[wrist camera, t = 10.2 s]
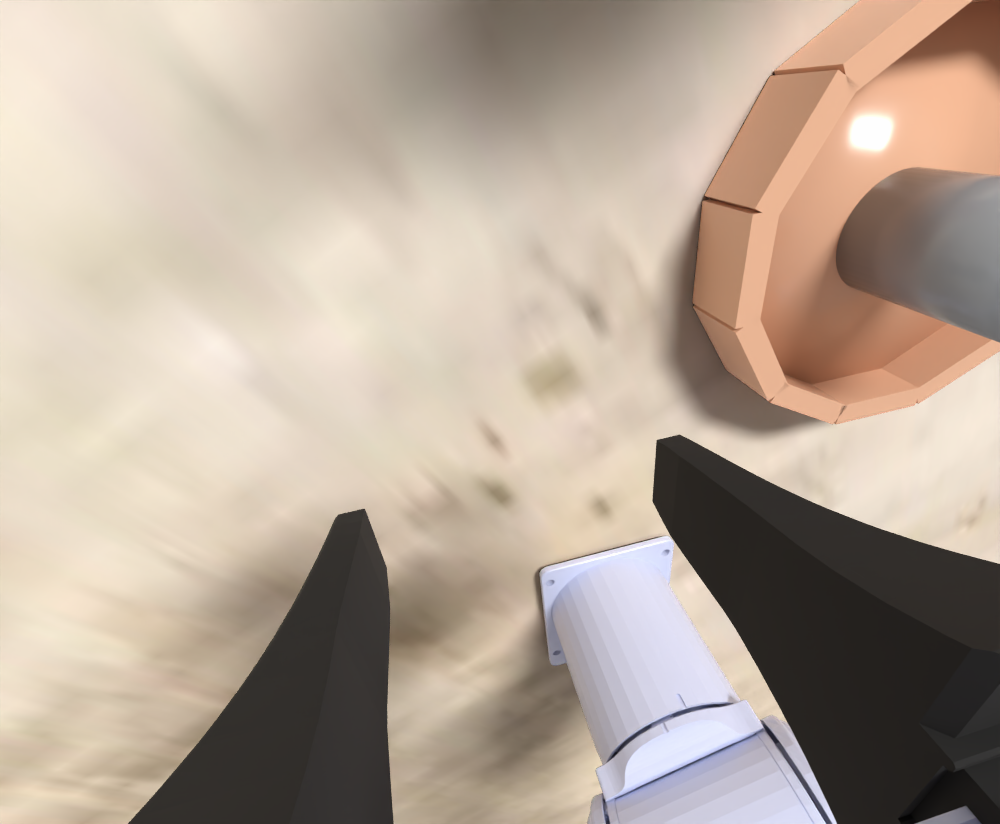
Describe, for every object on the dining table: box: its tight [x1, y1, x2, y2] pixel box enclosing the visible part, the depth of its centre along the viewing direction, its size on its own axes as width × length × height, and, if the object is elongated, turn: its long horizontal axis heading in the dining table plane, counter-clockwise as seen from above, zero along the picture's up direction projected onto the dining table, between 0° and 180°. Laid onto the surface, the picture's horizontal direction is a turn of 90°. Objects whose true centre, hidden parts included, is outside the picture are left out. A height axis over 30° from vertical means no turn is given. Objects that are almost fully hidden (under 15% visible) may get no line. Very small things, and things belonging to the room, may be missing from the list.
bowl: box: [692, 0, 1000, 424], centre depth 19 cm, size 16×16×3 cm
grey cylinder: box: [836, 167, 1000, 343], centre depth 17 cm, size 5×5×6 cm
